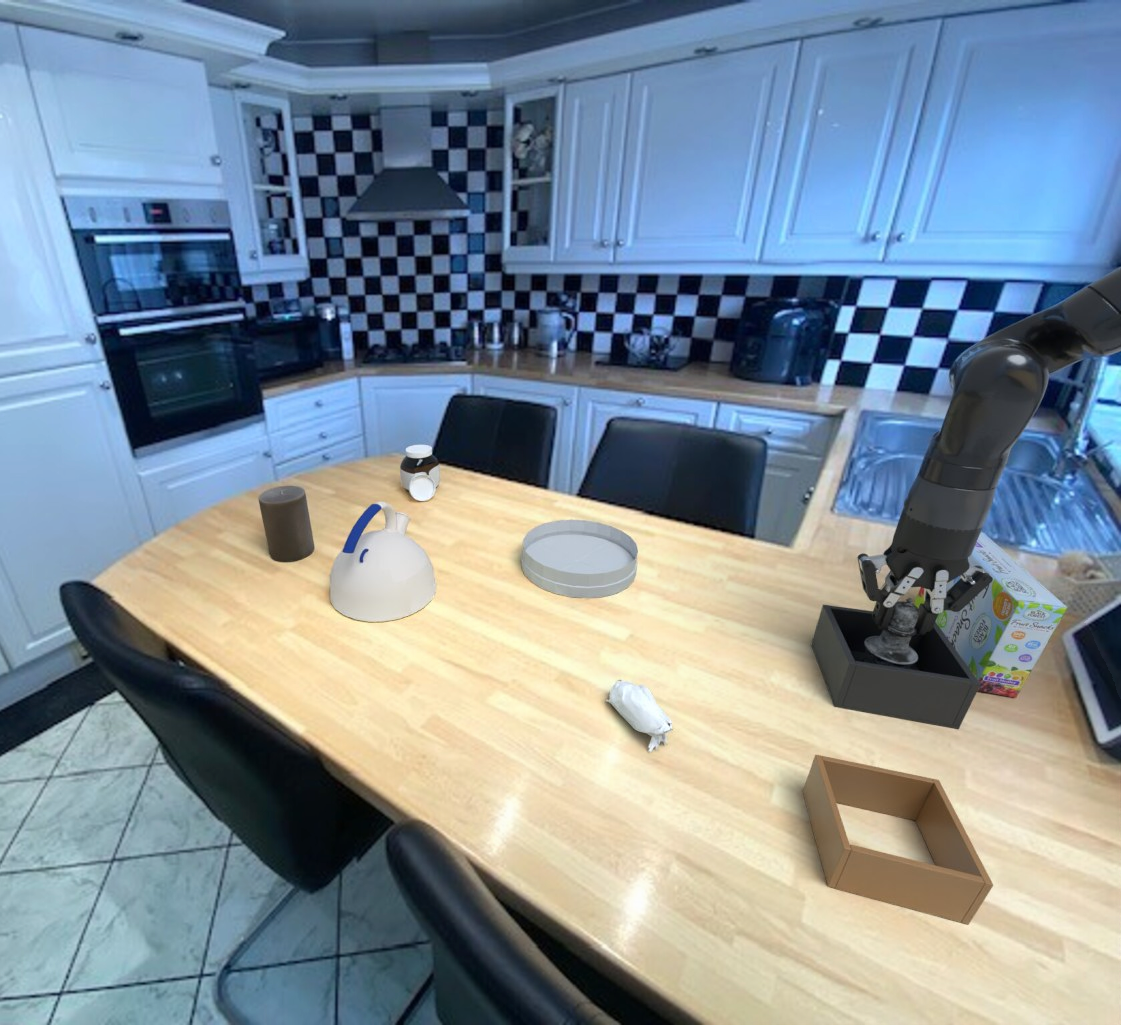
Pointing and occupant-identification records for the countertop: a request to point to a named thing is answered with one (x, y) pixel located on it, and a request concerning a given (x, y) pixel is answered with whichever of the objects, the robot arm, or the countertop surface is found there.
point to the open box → (892, 672)
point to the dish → (579, 558)
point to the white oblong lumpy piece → (640, 711)
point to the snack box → (1001, 622)
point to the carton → (886, 877)
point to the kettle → (381, 571)
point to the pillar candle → (286, 523)
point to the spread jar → (420, 472)
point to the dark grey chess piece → (895, 638)
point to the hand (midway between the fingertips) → (899, 628)
